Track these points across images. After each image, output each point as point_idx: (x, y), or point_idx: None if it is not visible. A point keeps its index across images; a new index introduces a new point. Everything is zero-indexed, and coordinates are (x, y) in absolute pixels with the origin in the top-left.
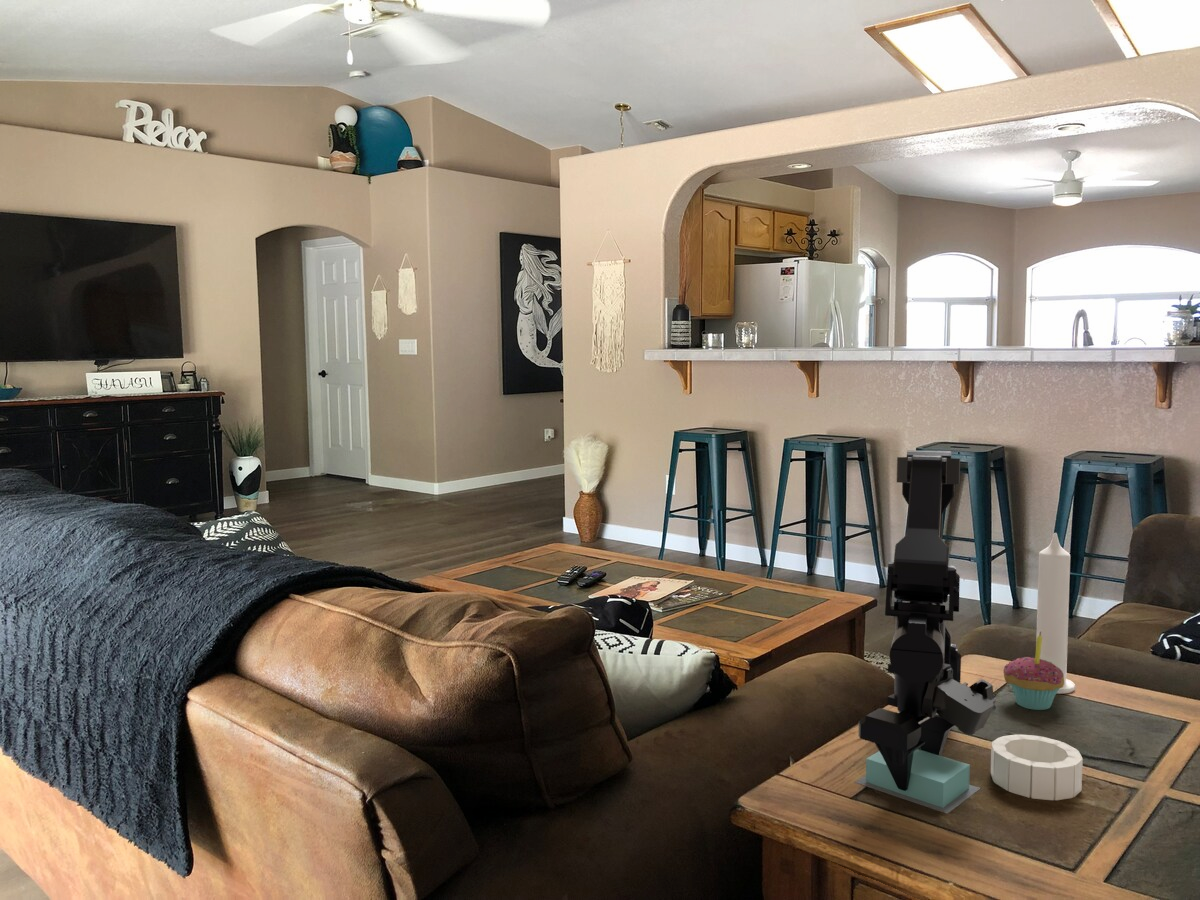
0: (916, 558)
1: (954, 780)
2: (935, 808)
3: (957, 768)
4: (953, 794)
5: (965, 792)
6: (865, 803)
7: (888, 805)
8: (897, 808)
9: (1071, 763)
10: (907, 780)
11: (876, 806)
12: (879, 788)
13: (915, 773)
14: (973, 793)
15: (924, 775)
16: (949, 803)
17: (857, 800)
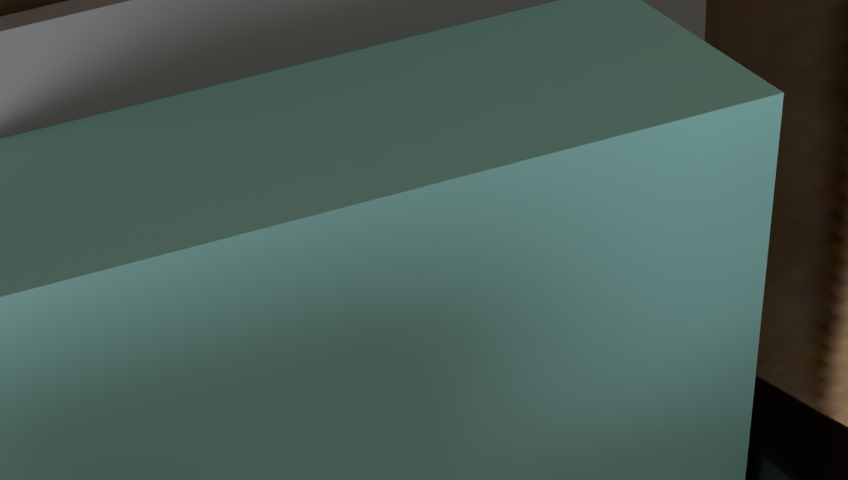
0: None
1: (395, 149)
2: (685, 18)
3: (155, 326)
4: (379, 71)
5: (90, 97)
6: (837, 364)
7: (771, 286)
8: (776, 227)
9: None
10: (755, 389)
11: (836, 309)
12: None
13: (736, 423)
14: (5, 34)
15: (723, 354)
16: (476, 14)
17: (827, 407)
